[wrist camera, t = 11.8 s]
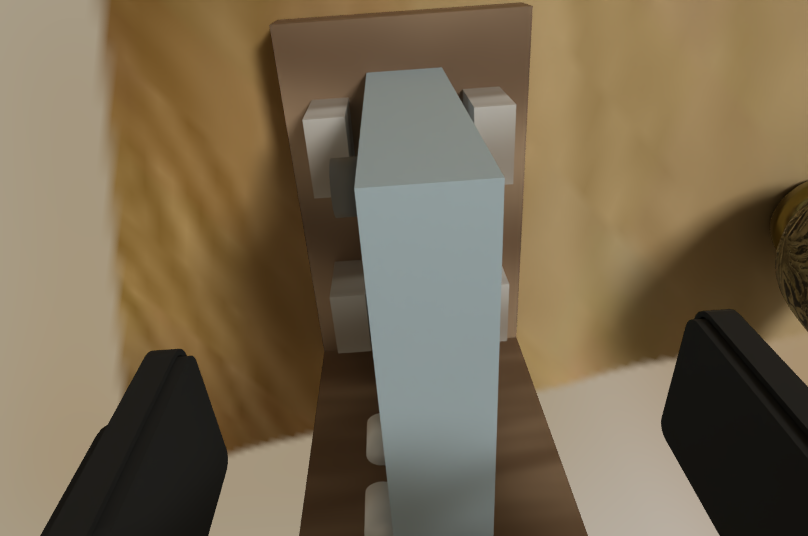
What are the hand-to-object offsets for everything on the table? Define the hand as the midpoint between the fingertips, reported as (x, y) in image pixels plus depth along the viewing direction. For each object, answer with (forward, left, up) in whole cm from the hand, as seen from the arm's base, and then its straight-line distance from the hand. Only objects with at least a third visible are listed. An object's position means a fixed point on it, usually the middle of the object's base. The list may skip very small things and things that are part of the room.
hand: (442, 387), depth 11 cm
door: (+1, 0, -10) cm, 10 cm away
